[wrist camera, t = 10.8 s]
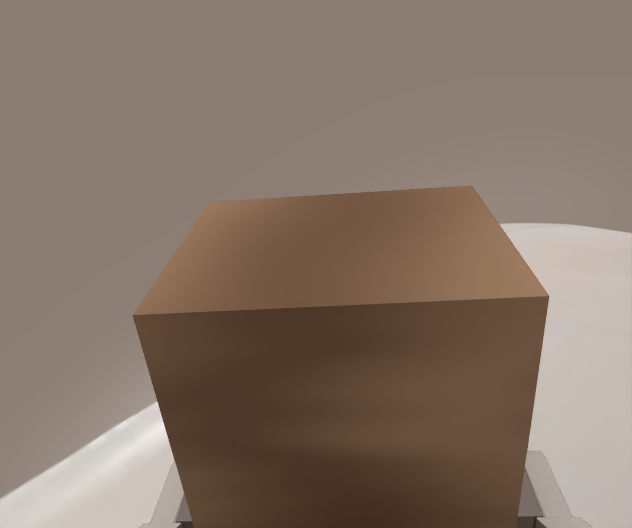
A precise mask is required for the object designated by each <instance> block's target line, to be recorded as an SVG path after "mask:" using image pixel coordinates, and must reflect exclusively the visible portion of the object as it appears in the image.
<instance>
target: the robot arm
mask: <svg viewBox="0 0 632 528" xmlns="http://www.w3.org/2000/svg"><path fill="white" fill-rule="evenodd" d="M139 528H194V525H193V522H192V518H191V515H190V512H189V508H188V505H187V501H186V498H185V494H184V491H183V487H182V484H181V480H180V477H179V474H178V470H177V467H176V463H175V462H174V463H173V464H172V466H171V468H170V471H169V474H168V476H167V479H166V482H165V484H164V487H163V490H162V492H161V495H160V498H159V500H158V503H157V506H156V509H155V511H154V514H153V517H152V519H151V522H150V523H143V524H142V525H141V526H140V527H139ZM516 528H593V527H591V526H590V525H589V524H588V523H587V522H585V521H584V520H583V519H582V518H580V517H572V515H571V513H570V510H569V508H568V506H567V504H566V502H565V499H564V497H563V495H562V493H561V490H560V488H559V486H558V484H557V482H556V479H555V477H554V475H553V473H552V470H551V468H550V466H549V464H548V462H547V459H546V457H545V455H544V454H543V453H542V452H541V451H527V455H526V462H525V469H524V476H523V483H522V490H521V497H520V504H519V511H518V518H517V526H516Z"/></svg>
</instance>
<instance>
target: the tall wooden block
mask: <svg viewBox="0 0 632 528" xmlns="http://www.w3.org/2000/svg"><path fill="white" fill-rule="evenodd" d="M548 301H549V295H548V294H547V292H546V291H545V289H544V288H543V286H542V285H541V284H540V282H539V281H538V279H537V278H536V276H535V275H534V274H533V272H532V271H531V269H530V268H529V266H528V265H527V263H526V262H525V261H524V259H523V258H522V256H521V255H520V253H519V252H518V251H517V249H516V248H515V246H514V245H513V243H512V242H511V241H510V239H509V238H508V236H507V235H506V233H505V232H504V231H503V229H502V228H501V226H500V225H499V223H498V222H497V221H496V219H495V218H494V217H493V215H492V213H491V212H490V210H489V209H488V208H487V206H486V205H485V203H484V202H483V200H482V199H481V198H480V196H479V195H478V193H477V192H476V190H475V189H474V188H473V186H459V187H443V188H427V189H411V190H396V191H380V192H364V193H349V194H332V195H316V196H300V197H286V198H269V199H254V200H237V201H222V202H208V203H207V205H206V206H205V208H204V209H203V211H202V212H201V214H200V215H199V217H198V218H197V220H196V221H195V223H194V224H193V226H192V227H191V229H190V230H189V232H188V233H187V235H186V236H185V238H184V239H183V241H182V242H181V244H180V245H179V247H178V248H177V250H176V251H175V253H174V254H173V256H172V257H171V259H170V260H169V262H168V263H167V265H166V266H165V268H164V269H163V271H162V272H161V273H160V275H159V277H158V278H157V279H156V281H155V283H154V284H153V285H152V287H151V288H150V290H149V292H148V293H147V295H146V296H145V297H144V299H143V300H142V302H141V303H140V305H139V306H138V308H137V310H136V311H135V312H134V314H133V318H134V322H135V325H136V328H137V332H138V335H139V339H140V342H141V346H142V349H143V353H144V356H145V359H146V363H147V366H148V370H149V373H150V377H151V380H152V384H153V387H154V391H155V394H156V397H157V401H158V404H159V408H160V411H161V415H162V418H163V422H164V425H165V429H166V432H167V436H168V439H169V442H170V446H171V449H172V453H173V456H174V460H175V463H176V467H177V470H178V474H179V477H180V480H181V484H182V487H183V491H184V494H185V498H186V501H187V505H188V508H189V512H190V515H191V518H192V522H193V525H194V528H516V526H517V518H518V511H519V504H520V497H521V490H522V483H523V476H524V469H525V462H526V455H527V448H528V441H529V434H530V427H531V420H532V413H533V406H534V399H535V392H536V385H537V378H538V371H539V364H540V357H541V350H542V343H543V336H544V329H545V322H546V315H547V308H548Z"/></svg>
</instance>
